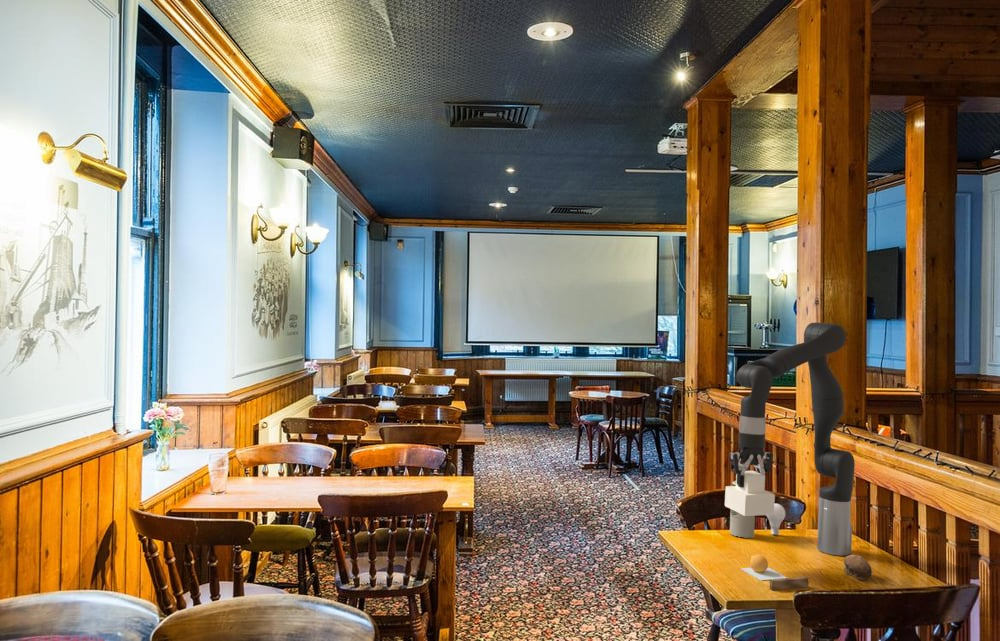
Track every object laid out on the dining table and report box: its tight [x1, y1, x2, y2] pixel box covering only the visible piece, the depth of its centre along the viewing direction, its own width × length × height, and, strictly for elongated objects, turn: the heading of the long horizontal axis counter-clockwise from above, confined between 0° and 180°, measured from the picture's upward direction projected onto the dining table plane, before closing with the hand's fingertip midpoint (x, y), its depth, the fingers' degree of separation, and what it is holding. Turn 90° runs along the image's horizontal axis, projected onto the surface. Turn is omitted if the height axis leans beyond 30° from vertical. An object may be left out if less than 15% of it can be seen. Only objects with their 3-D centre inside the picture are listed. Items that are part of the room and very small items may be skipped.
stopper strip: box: [769, 576, 810, 591], centre depth 182 cm, size 12×1×2 cm, turn 106°
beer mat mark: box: [740, 567, 788, 582], centre depth 192 cm, size 9×9×1 cm
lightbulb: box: [765, 502, 786, 536], centre depth 230 cm, size 6×6×11 cm
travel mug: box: [729, 480, 756, 539], centre depth 228 cm, size 8×8×18 cm
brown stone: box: [843, 554, 873, 581], centre depth 193 cm, size 8×8×6 cm
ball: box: [749, 554, 769, 573], centre depth 193 cm, size 5×5×5 cm
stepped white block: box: [724, 470, 776, 517], centre depth 199 cm, size 10×10×11 cm
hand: (749, 486), depth 199 cm, fingers closed on stepped white block, 5 cm apart
